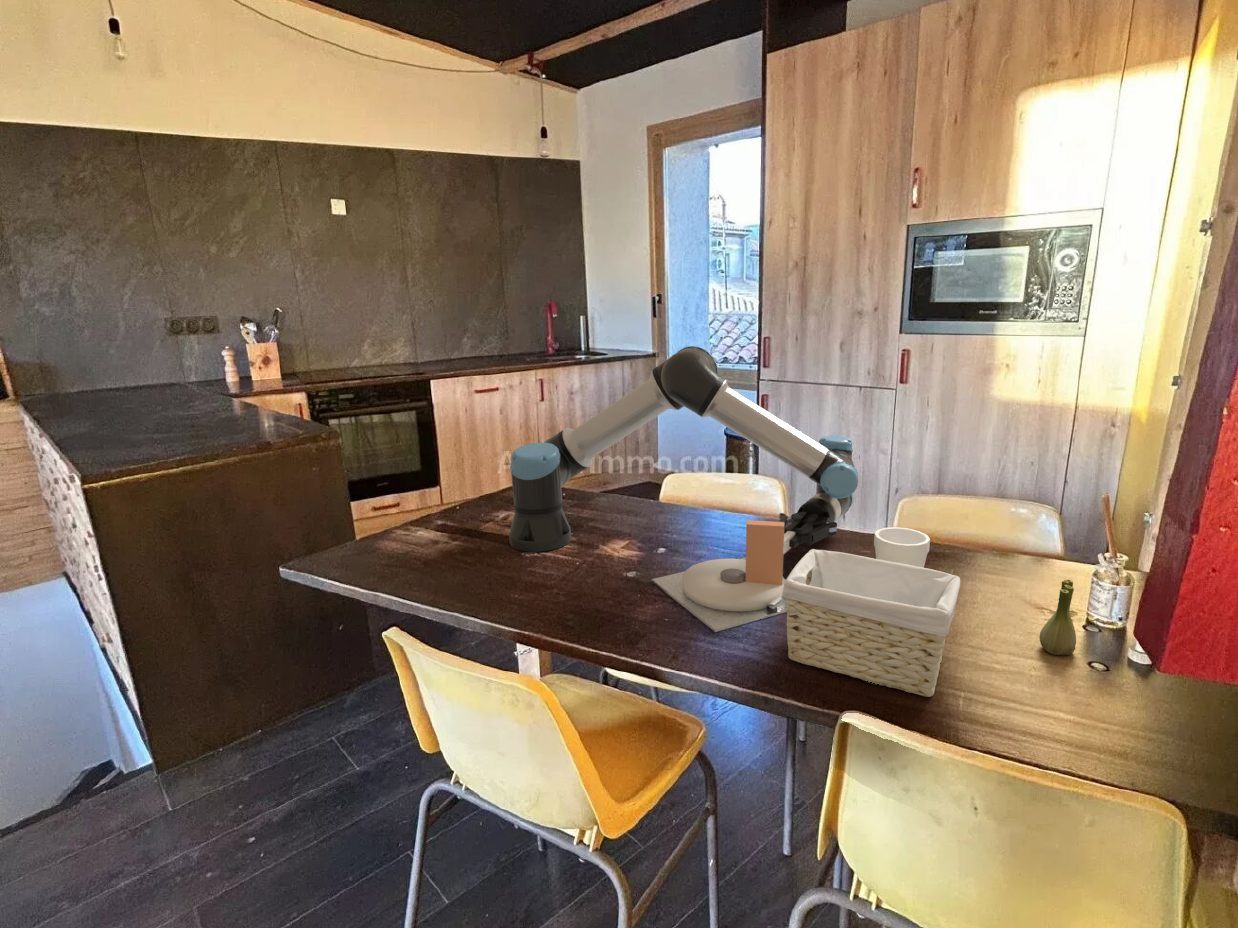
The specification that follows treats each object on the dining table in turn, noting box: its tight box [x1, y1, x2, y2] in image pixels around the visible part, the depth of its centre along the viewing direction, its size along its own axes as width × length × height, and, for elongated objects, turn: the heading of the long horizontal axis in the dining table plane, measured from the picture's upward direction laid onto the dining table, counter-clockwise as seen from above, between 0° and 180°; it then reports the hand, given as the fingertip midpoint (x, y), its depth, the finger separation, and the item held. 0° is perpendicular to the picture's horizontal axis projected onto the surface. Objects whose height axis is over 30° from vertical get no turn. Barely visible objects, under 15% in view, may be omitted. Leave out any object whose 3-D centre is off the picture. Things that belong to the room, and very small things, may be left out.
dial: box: [683, 519, 786, 611], centre depth 129 cm, size 20×20×14 cm
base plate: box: [651, 556, 787, 633], centre depth 131 cm, size 24×24×1 cm
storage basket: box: [783, 548, 961, 698], centre depth 104 cm, size 24×16×15 cm
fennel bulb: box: [1039, 578, 1077, 656], centre depth 105 cm, size 6×5×12 cm
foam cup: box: [873, 526, 931, 568], centre depth 123 cm, size 10×9×13 cm
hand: (779, 547), depth 129 cm, fingers closed
